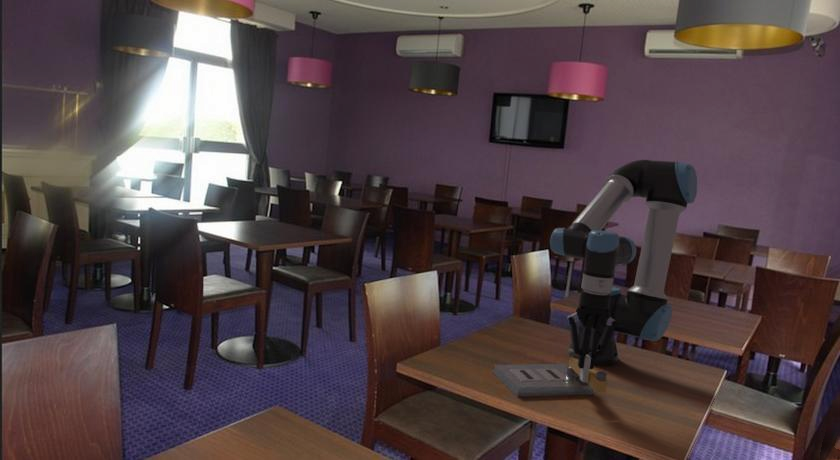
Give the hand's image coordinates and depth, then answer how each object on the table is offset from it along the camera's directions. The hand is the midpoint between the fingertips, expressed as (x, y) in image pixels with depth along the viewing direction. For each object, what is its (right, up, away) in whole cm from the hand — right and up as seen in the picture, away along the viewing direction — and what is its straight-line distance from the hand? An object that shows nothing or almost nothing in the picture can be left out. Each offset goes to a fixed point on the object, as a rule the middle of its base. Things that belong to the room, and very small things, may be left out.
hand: (583, 380), depth 155 cm
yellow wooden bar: (+2, 0, +4) cm, 4 cm away
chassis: (-9, -3, +10) cm, 14 cm away
